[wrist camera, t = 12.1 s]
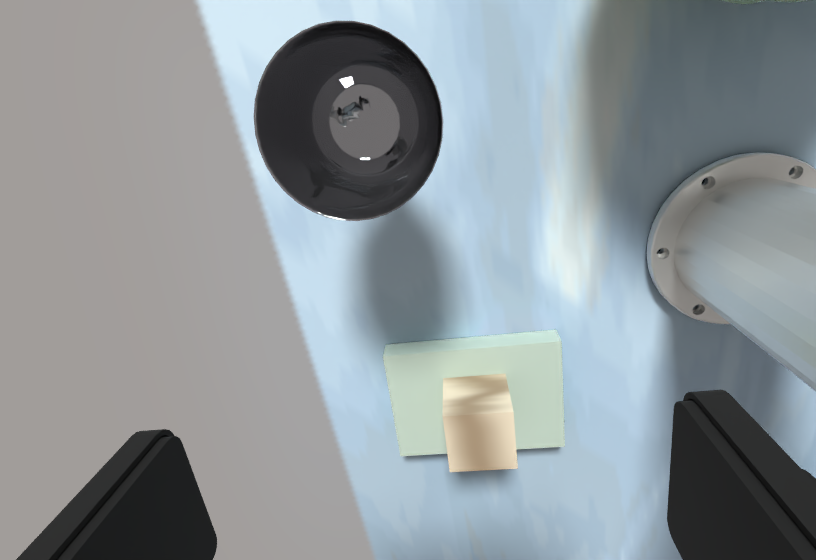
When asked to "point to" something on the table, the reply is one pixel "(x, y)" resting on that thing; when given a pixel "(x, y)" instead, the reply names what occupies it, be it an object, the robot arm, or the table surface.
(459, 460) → the birch cube
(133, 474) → the robot arm
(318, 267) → the table surface
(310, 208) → the wine glass
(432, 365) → the sage board
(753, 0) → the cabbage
